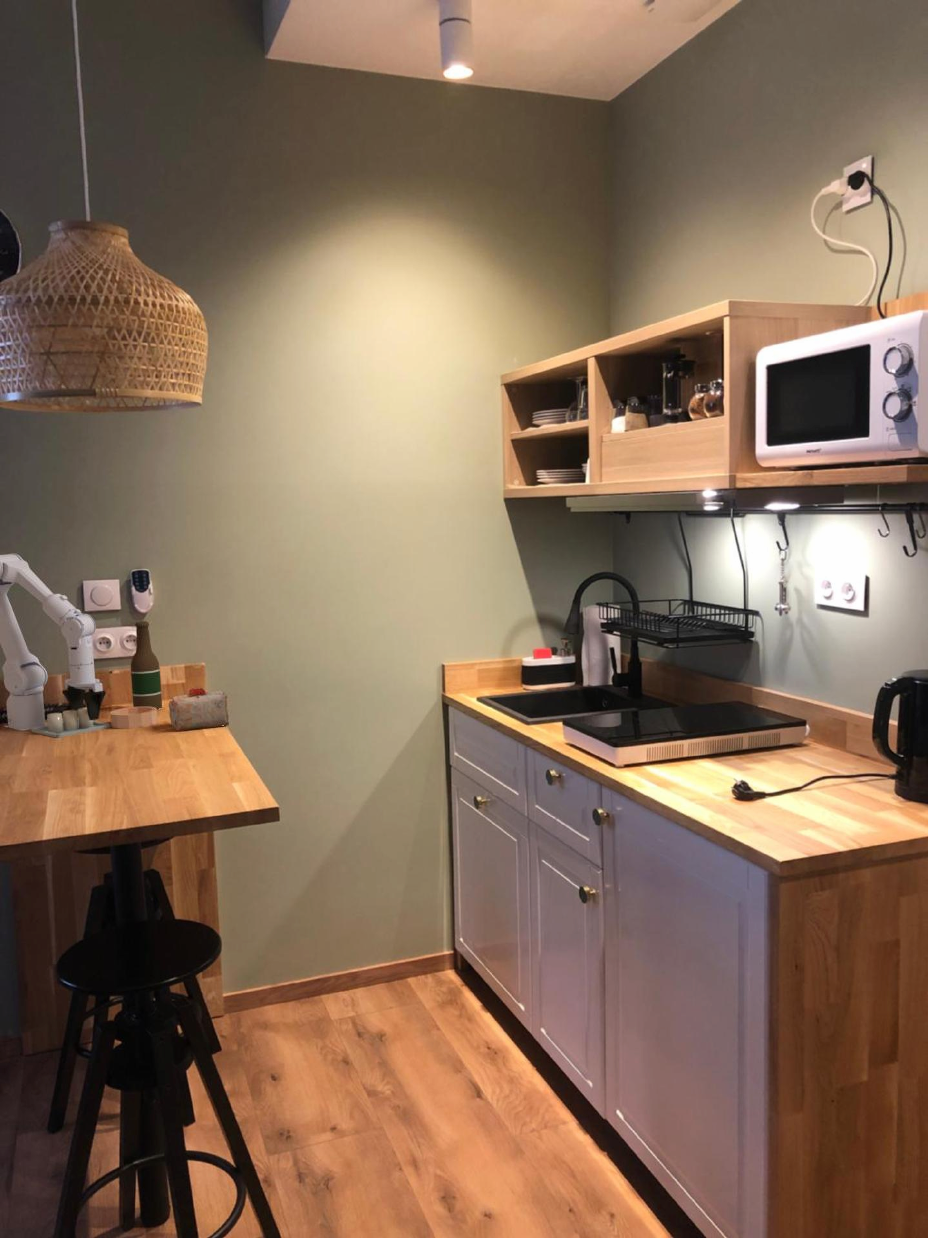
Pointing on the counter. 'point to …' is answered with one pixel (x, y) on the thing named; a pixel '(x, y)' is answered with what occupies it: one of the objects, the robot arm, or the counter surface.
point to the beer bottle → (145, 671)
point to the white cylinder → (55, 723)
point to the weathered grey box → (198, 710)
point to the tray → (67, 733)
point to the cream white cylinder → (84, 718)
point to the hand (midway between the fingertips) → (86, 718)
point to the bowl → (133, 717)
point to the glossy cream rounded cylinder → (70, 720)
